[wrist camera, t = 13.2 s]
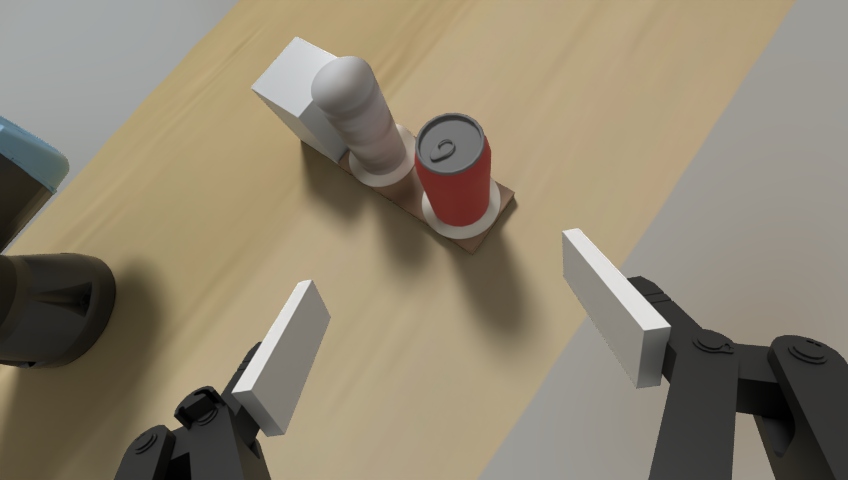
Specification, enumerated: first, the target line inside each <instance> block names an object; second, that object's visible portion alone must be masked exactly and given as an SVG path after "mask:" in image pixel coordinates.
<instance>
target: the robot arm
mask: <svg viewBox="0 0 848 480" xmlns="http://www.w3.org/2000/svg"><path fill="white" fill-rule="evenodd" d="M68 172H69V163H68V160H67V158H66V157H65V156H64V155H63V154H62V153H61V152H59V151H58V150H57V149H55V148H54V147H52V146H51V145H49V144H48V143H46V142H44V141H43V140H41V139H39V138H38V137H36V136H34V135H33V134H31V133H29V132H27V131H26V130H24V129H23V128H21V127H19V126H18V125H16V124H14V123H12V122H11V121H9V120H7V119H5V118H3V117H2V116H0V253H1V252H2V251H3V250H4V249H5V248H6V247H7V245H8V244H9V243H10V242H11V241H12V240H13V239H14V238H15V237H16V235H17V234H18V233H19V232H20V231H21V230H22V229H23V228H24V227H25V225H26V224H27V223H28V222H29V221H30V220H31V219H32V218H33V216H34V215H35V214H36V213H37V212H38V211H39V210H40V209H41V208H42V207H43V205H44V204H45V203H46V202H47V201H48V199H50V198H51V196H52V195H54V194H55V193H56V192H57V190H56V189H57V187H58V186H59V185H60V183H61V182H62V180H63V179H64V178H65V176H66V175H67V174H68ZM562 244H563V277H564V278H565V280H566V281H567V283H568V284H569V286H570V287H571V289H572V290H573V292H574V293H575V295H576V297H577V298H578V300H579V301H580V303H581V304H582V306H583V307H584V309H585V310H586V312H587V313H588V315H589V317H590V318H591V320H592V321H593V323H594V324H595V326H596V327H597V329H598V330H599V332H600V333H601V335H602V336H603V338H604V340H605V341H606V343H607V344H608V346H609V347H610V349H611V350H612V352H613V353H614V355H615V356H616V358H617V359H618V361H619V363H620V364H621V366H622V367H623V369H624V370H625V371H626V373H627V375H628V376H629V378H630V379H631V381H632V383H633V384H634V386H635V387H636V388H644V387H652V386H660V384H661V378H662V374H663V375H664V377H665V378H666V379H667V381H668V382H669V383H670V387H669V391H668V396H667V400H666V405H665V409H664V414H663V418H662V422H661V427H660V431H659V436H658V440H657V444H656V448H655V453H654V457H653V462H652V466H651V470H650V475H649V479H648V480H732V465H733V448H734V431H735V415H736V412H740V413H746V414H753V416H754V419H755V422H756V425H757V428H758V431H759V433H760V436H761V439H762V442H763V445H764V448H765V450H766V454H767V456H768V459H769V462H770V465H771V468H772V471H773V473H774V476H775V479H776V480H848V364H847V362H846V361H845V360H844V358H843V357H842V356H841V355H840V354H839V353H838V352H837V351H835V350H834V349H832V348H830V347H828V346H827V345H825V344H823V343H821V342H818V341H815V340H813V339H810V338H806V337H801V336H795V335H784V336H780V337H777V338H775V340H773V342H772V344H771V346H770V347H767V346H755V345H744V344H737V343H733V342H732V340H730V339H729V338H727V337H725V336H724V335H722V334H720V333H717V332H714V331H711V330H706V329H702V328H701V327H700V326H699V325H698V324H697V323H696V322H695V321H694V320H693V319H692V318H691V317H689V316H688V315H687V314H686V313H685V312H684V311H683V310H682V309H681V308H680V307H679V306H678V305H677V304H676V303H675V302H674V301H672V300H671V298H669V297H668V296H667V295H666V294H664V292H663V291H662V290H661V289H660V288H659V287H658V286H657V285H656V284H655V283H653V282H651V281H649V280H647V279H645V278H643V277H641V276H638V277H632V278H627V279H626V278H625V277H624V276H623V275H622V274H621V273H620V272H619V271H618V270H617V268H616V267H615V266H614V265H613V264H612V263H611V262H610V261H609V260H608V259H607V258H606V257H605V256H604V255H603V254H602V253H601V252H600V250H599V249H598V248H597V247H596V246H595V245H594V244H593V243H592V242H591V241H590V240H589V239H588V238H587V237H586V236H585V235H584V234H583V232H582V231H581V230H580V229H579V228H576V229H571V230H566V231H562ZM114 295H115V285H114V279H113V275H112V273H111V271H110V269H109V267H108V266H107V265H106V264H105V263H104V262H103V261H102V260H100V259H98V258H96V257H92V256H87V255H82V254H76V253H60V254H36V255H18V256H6V255H0V364H4V365H9V366H16V367H20V368H29V369H35V368H48V367H58V366H62V365H65V364H67V363H70V362H72V361H73V360H75V359H77V358H78V357H79V356H81V355H82V354H83V353H84V352H86V351H87V350H88V349H89V348H90V347H91V346H92V344H93V343H94V342H95V341H96V340H97V338H98V337H99V335H100V334H101V332H102V331H103V329H104V327H105V325H106V323H107V321H108V319H109V316H110V314H111V311H112V307H113V303H114ZM330 318H331V317H330V315H329V312H328V310H327V308H326V306H325V304H324V302H323V300H322V298H321V296H320V294H319V292H318V290H317V288H316V286H315V284H314V282H313V280H312V279H311V280H306V281H301V282H299V283H298V284H297V286H296V288H295V289H294V291H293V293H292V294H291V296H290V298H289V299H288V301H287V302H286V304H285V306H284V307H283V309H282V311H281V312H280V314H279V316H278V317H277V319H276V321H275V322H274V324H273V325H272V327H271V329H270V330H269V332H268V334H267V335H266V337H265V339H264V340H263V341H262V342H258V343H257V344H256V345H255V346H254V347H253V348H252V349H251V350H250V351H249V352H248V353H247V355H246V357H245V358H244V360H243V361H242V364H240V366H239V368H238V369H237V372H235V374H234V375H233V377H232V379H231V380H230V382H229V383H228V385H227V386H226V388H225V390H224V391H223V393H222V394H221V396H220V395H219V394H218V393H217V391H216V390H215V389H214V388H213V387H211V386H205V387H201V388H199V389H197V390H195V391H193V392H192V393H191V394H189V395H188V396H187V397H186V398H185V399H184V400H183V401H182V402H181V403H180V404H179V405H178V407H177V408H176V410H175V414H174V417H175V418H176V419H177V420H178V421H179V422H180V423H181V424H182V425H183V427H180V428H178V429H176V430H173V431H170V430H169V429H168V428H167V427H166V426H165V425H158V426H155V427H152V428H150V429H149V430H147V431H145V432H144V433H142V434H141V435H140V436H139V437H138V438H136V439H135V441H134V442H133V443H132V444H131V445H130V446H129V448H128V449H127V451H126V453H125V454H124V457H123V459H122V462H121V464H120V467H119V469H118V471H117V474H116V476H115V479H114V480H271V478H270V475H269V472H268V468H267V465H266V462H265V459H264V456H263V453H262V449H261V446H260V443H259V441H258V440H257V439H256V435H257V433H258V431H259V429H261V430H262V431H263V432H264V434H265V435H266V436H267V437H269V436H277V435H284V434H285V433H286V430H287V427H288V425H289V422H290V420H291V417H292V415H293V412H294V410H295V407H296V405H297V402H298V400H299V397H300V395H301V392H302V389H303V387H304V384H305V382H306V379H307V377H308V374H309V372H310V369H311V367H312V364H313V362H314V359H315V356H316V354H317V351H318V349H319V346H320V344H321V341H322V339H323V336H324V334H325V331H326V329H327V326H328V323H329V321H330Z"/></svg>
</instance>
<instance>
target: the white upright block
mask: <svg viewBox="0 0 848 480" xmlns="http://www.w3.org/2000/svg"><path fill="white" fill-rule="evenodd" d="M337 58H338V57H336V56H334V55H332V54H330V53H328V52H326V51H324V50H322V49H320V48H318V47H316V46H314V45H312V44H310V43H308V42H306V41H304V40H302V39H300V38H298V37H295V38H294V39H293V40H292V42H291V43H290V44H289V45H288V46H287V47H286V48H285V49H284V51H283V52H282V53H281V54H280V55H279V56H278V57H277V59H276V60H275V61H274V62H273V63H272V64H271V65H270V66H269V68H268V69H267V70H266V71H265V72H264V73H263V74H262V76H261V77H260V78H259V79H258V80H257V81H256V82H255V83H254V85H253V86H252V87H251V89H252V90H253V91H254V92H255V93H256V94H257V95H258V96H259V97H260V98H261V99H262V100H263V101H264V102H265V103H266V104H267V105H268V107H269V108H270V109H271V110H272V111H273V112H274V113H275V114H276V115H277V116H278V117H279V118H280V119H281V120H282V121H283V122H284V123H285V124H286V125H287V126H288V127H289V128H290V129H291V130H292V131H293V132H294V133H295V135H296V136H297V137H298V138H299V139H300V140H302V141H303V142H305V143H306V144H308V145H309V146H311V147H313V148H314V149H316V150H317V151H319V152H320V153H322V154H323V155H325V156H326V157H328V158H329V159H331V160H332V161H334V162H335V163H337V164H338V163H339V161H340V160H341V159H342V158H343V156H344V155H345V154H346V153H347V151H348V150H349V148H348V147H347V145H346V144H345V143H344V141H343V140H342V139H341V137H340V136H339V135H338V133H337V132H336V130H335V129H334V128H333V126H332V125H331V124H330V122H329V121H328V120H327V118H326V117H325V116H324V114H323V113H322V112H321V110H320V109H319V108H318V106H317V105H316V104H315V102H314V101H313V99H312V96H311V85H312V82H313V79H314V77H315V76H316V74H317V73H318V71H319V70H320V69H321V68H322V67H323V66H324V65H326V64H327V63H329V62H330V61H332V60H335V59H337Z"/></svg>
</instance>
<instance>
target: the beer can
mask: <svg viewBox="0 0 848 480" xmlns="http://www.w3.org/2000/svg"><path fill="white" fill-rule="evenodd" d="M414 163H415V167H416V172H417V175H418V177H419V179H420V182H421V184H422V186H423V188H424V191H425V193H426V195H427V198H428V200H429V202H430V205H431V207H432V209H433V211H434V213H435V215H436V216H437V218H438V219H440V220H441V221H442V222H444V223H445V224H448V225H451V226H455V227H464V226H467V225H471V224H473V223H475V222H476V221H478V220H480V219H481V217H482V216H483V215H484V214H485V213H486V211H487V208H488V206H489V198H490V171H491V149H490V146H489V143H488V140H487V138H486V136H485V135H484V132H483V129H482V127H481V126H480V125H479V124H478V122H477V121H476V120H474V119H473V118H471V117H469V116H468V115H464V114H460V113H446V114H443V115H439V116H436V117H435V118H433V119H432V120H430V121H428V122H427V123H426V124H425V125H424V126H423V127H422V129H421V130H420V132H419V134H418V136H417V138H416V143H415V158H414Z"/></svg>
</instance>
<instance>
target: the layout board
mask: <svg viewBox="0 0 848 480" xmlns="http://www.w3.org/2000/svg"><path fill="white" fill-rule="evenodd" d="M311 96H312V99H313V101H314V102H315V104H316V105H317V106H318V108H319V109H320V110H321V112H322V113H323V114H324V116H325V117H326V118H327V120H328V121H329V122H330V124H331V125H332V126H333V128H334V129H335V130H336V132H337V133H338V135H339V136H340V137H341V139H342V140H343V141H344V143H345V144H346V145H347V147H348V148H349V150H348V151H347V153H346V154H345V155H344V156H343V158H342V159H341V160H340V161H339V163H338V165H339V166H340V167H341V168H342V169H343V170H345V171H346V172H348V173H349V174H351V175H352V176H354V177H355V178H357V179H358V180H359V181H360V182H362V183H364V184H366V185H368V186H369V187H371V188H372V189H374V190H375V191H377V192H378V193H380V194H381V195H383V196H384V197H386V198H387V199H389V200H390V201H392V202H393V203H395V204H396V205H398V206H399V207H401V208H402V209H404V210H406V211H407V212H409V213H410V214H412V215H413V216H415V217H416V218H418V219H419V220H421V221H422V222H424V223H425V224H427V225H428V226H430V227H431V228H433V229H434V230H435V231H436V232H437V233H439V234H441V235H443V236H445V237H446V238H448V239H450V240H451V241H453V242H454V243H456V244H457V245H459V246H460V247H462V248H463V249H465V250H466V251H468V252H469V253H471V254H472V255H473V253H474V252H475V250H476V249H477V248H478V246H479V245H480V243H481V242H482V241H483V239H484V238H485V236H486V235H487V234H488V232H489V231H490V229H491V228H492V227H493V225H494V224H495V222H496V221H497V220H498V218H499V217H500V215H501V214H502V212H503V211H504V210H505V208H506V207H507V205H508V204H509V203H510V201H511V200H512V198H513V197H514V193H515V192H513V191H512V190H510V189H508V188H506V187H505V186H503V185H501V184H499V183H497V182H496V181H494V180H493V179H492V178H491V177H490V198H489V206H488V208H487V211H486V213H485V214H484V215H483V216H482V217H481V219H480V220H478V221H476V222H475V223H473V224H471V225H467V226H464V227H455V226H451V225H448V224H445V223H444V222H442V221H441V220H440V219H438V218H437V216H436V215H435V213H434V211H433V209H432V207H431V205H430V202H429V200H428V198H427V195H426V193H425V191H424V188H423V186H422V184H421V182H420V179H419V177H418V175H417V172H416V167H415V163H414V158H415V143H416V138H417V137H415V136H413V135H412V134H411V132H410V131H409V130H407V129H406V128H405V127H403V126H401V125H398V124H395V122H394V120H393V117H392V115H391V113H390V110H389V108H388V106H387V104H386V101H385V99H384V97H383V94H382V92H381V90H380V87H379V85H378V83H377V80H376V78H375V76H374V74H373V71H372V69H371V67H370V65H369V64H368V63H367V62H366V61H365V60H363V59H361V58H358V57H353V56H346V57H340V58H337V59H335V60H332V61H330V62H329V63H327V64H326V65H324V66H323V67H322V68H321V69H320V70H319V71H318V73H317V74H316V76H315V77H314V79H313V82H312V85H311Z"/></svg>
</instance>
